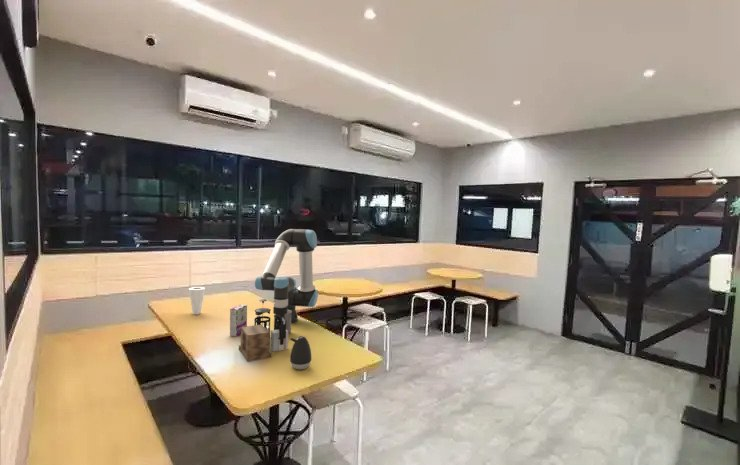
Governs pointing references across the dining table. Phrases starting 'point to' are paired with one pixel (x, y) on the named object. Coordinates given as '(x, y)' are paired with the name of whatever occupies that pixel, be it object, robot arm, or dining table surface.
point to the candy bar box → (238, 319)
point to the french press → (258, 318)
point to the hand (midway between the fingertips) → (279, 348)
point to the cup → (196, 298)
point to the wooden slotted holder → (255, 342)
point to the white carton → (277, 340)
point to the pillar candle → (288, 321)
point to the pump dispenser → (300, 353)
